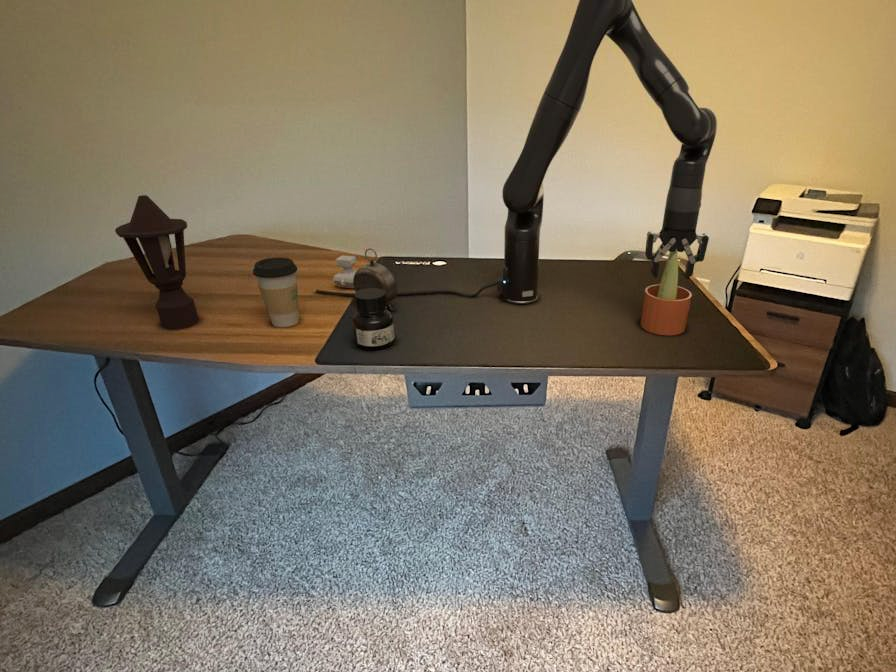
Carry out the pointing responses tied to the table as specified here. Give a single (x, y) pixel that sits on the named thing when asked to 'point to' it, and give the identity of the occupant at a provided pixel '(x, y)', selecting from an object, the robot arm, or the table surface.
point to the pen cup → (665, 312)
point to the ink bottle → (372, 320)
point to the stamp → (345, 271)
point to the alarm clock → (375, 279)
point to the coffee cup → (278, 289)
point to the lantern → (161, 260)
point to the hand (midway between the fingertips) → (670, 276)
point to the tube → (669, 278)
